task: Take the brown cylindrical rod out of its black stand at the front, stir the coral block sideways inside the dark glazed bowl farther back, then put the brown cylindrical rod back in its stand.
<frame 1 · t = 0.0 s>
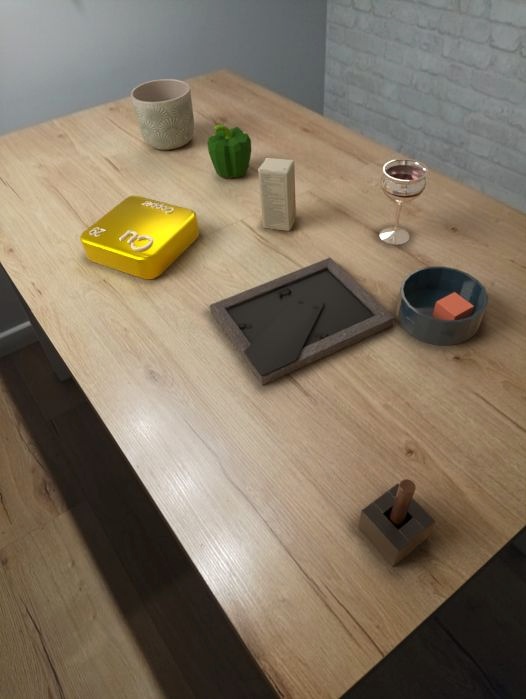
planter: (170, 142, 115), on the table
wineglass: (394, 236, 87), on the table
bowl: (437, 316, 74), on the table
block: (449, 322, 72), point 1 cm above the table, touching bowl
picture frame: (299, 319, 75), on the table
stand: (392, 532, 53), on the table
bell pepper: (232, 173, 104), on the table
brown cylindrical rod: (399, 511, 49), in the stand
box: (279, 224, 91), on the table
element tile: (144, 246, 89), on the table
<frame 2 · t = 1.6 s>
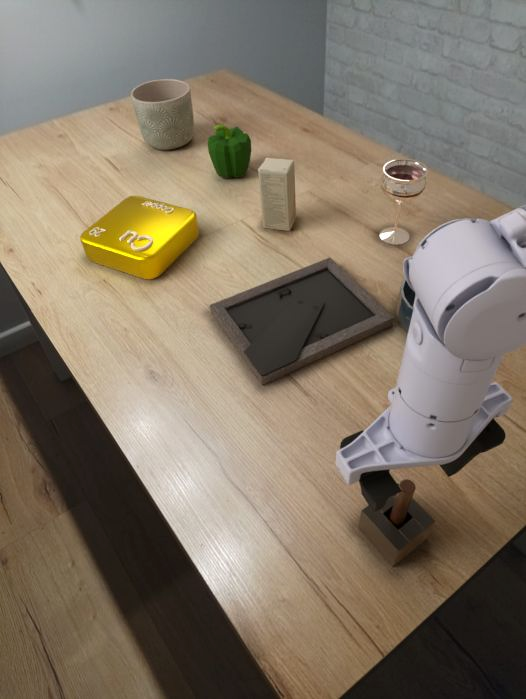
hand: (408, 483, 45), 10 cm above the table, tool pointing down, fingers open, 7 cm apart
nothing on the table moved.
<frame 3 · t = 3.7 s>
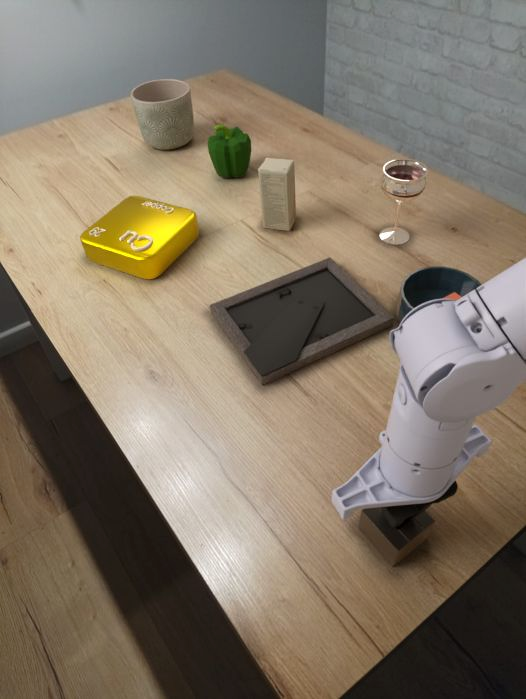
hand: (398, 513, 50), 4 cm above the table, tool pointing down, fingers closed on brown cylindrical rod
brown cylindrical rod: (399, 511, 49), in the stand, touching gripper
everything else where it was.
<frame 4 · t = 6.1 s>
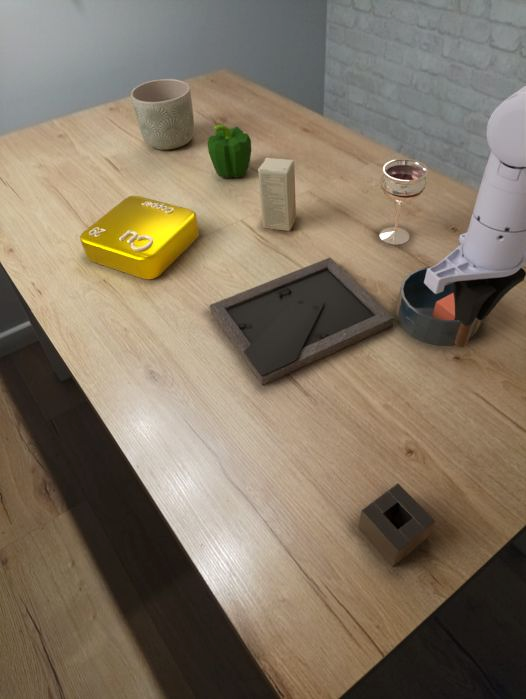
hand: (469, 317, 59), 10 cm above the table, tool pointing down, fingers closed on brown cylindrical rod
brown cylindrical rod: (470, 313, 59), point 10 cm above the table, touching gripper
everything else where it was.
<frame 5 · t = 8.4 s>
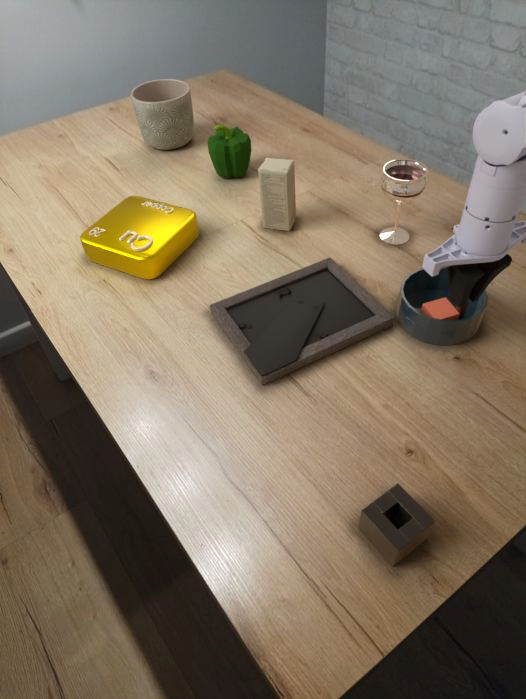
hand: (462, 299, 67), 6 cm above the table, tool pointing down, fingers closed on brown cylindrical rod
block: (436, 326, 71), point 1 cm above the table, touching bowl, brown cylindrical rod
brown cylindrical rod: (464, 295, 67), point 6 cm above the table, touching block, gripper
everything else where it was.
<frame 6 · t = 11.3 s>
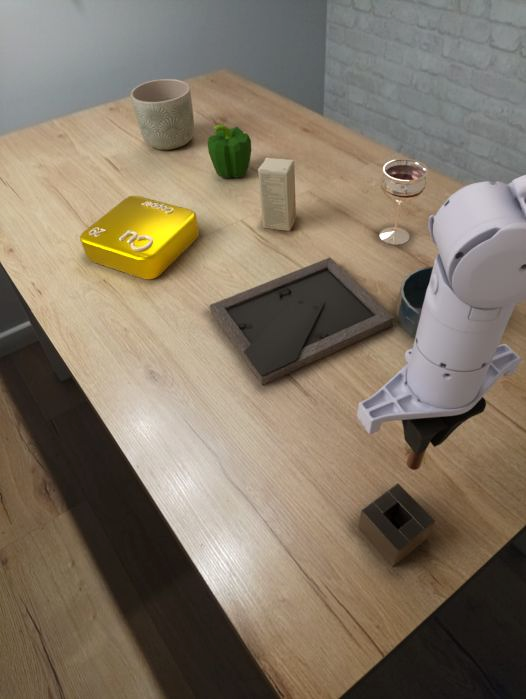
hand: (422, 441, 49), 10 cm above the table, tool pointing down, fingers closed on brown cylindrical rod
block: (436, 326, 71), point 1 cm above the table, touching bowl
brown cylindrical rod: (422, 436, 48), point 10 cm above the table, touching gripper
everything else where it was.
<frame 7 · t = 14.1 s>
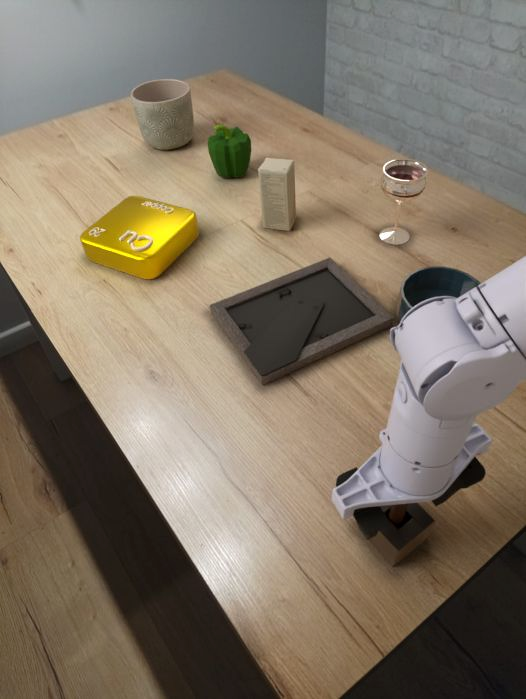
hand: (399, 512, 50), 5 cm above the table, tool pointing down, fingers open, 7 cm apart
brown cylindrical rod: (398, 509, 49), in the stand
everything else where it was.
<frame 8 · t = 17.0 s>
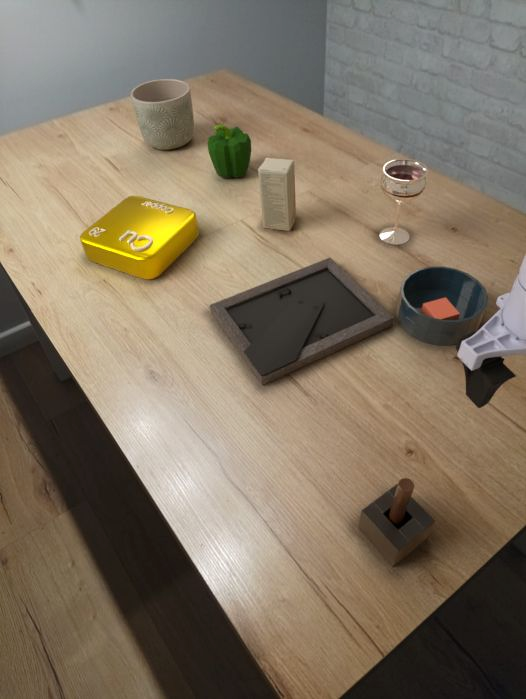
hand: (505, 386, 52), 10 cm above the table, tool pointing down, fingers open, 7 cm apart
nothing on the table moved.
at the end: block moved 2.2 cm from its start; block inside the target area in the bowl (2.8 cm from its centre), point 0.6 cm above the bowl's base; brown cylindrical rod 0.1 cm off-centre in the stand, point 5.0 cm above the stand's base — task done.
